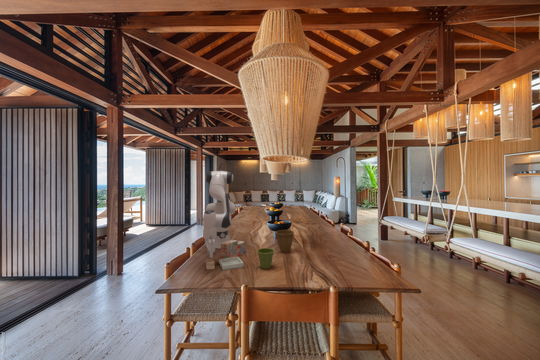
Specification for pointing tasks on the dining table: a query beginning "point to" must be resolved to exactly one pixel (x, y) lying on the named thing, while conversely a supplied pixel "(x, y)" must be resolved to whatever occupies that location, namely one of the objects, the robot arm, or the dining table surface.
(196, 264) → the dining table surface
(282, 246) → the plant pot
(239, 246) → the patterned box
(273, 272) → the dining table surface
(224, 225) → the robot arm
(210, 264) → the maple block
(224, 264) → the tray
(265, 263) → the plant pot
